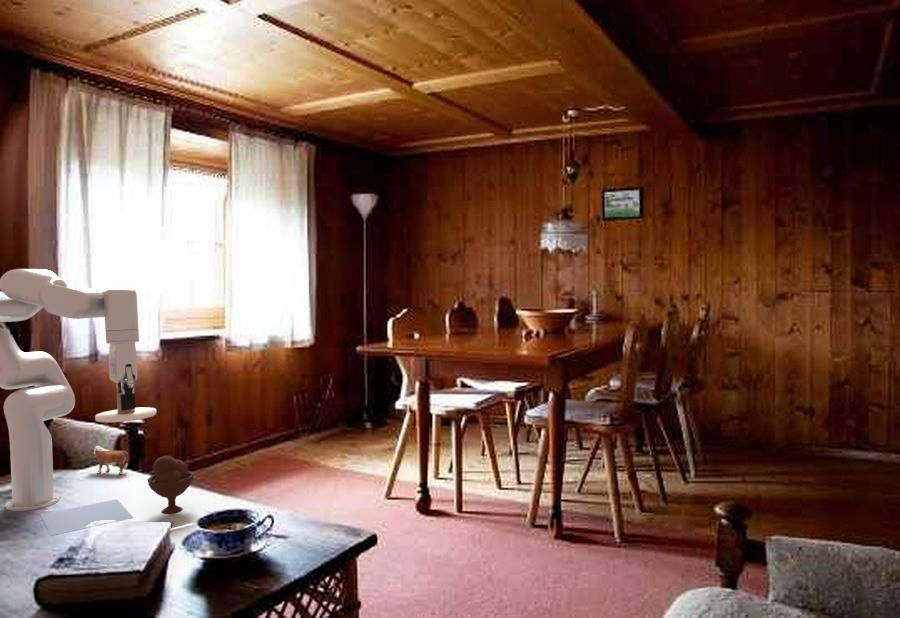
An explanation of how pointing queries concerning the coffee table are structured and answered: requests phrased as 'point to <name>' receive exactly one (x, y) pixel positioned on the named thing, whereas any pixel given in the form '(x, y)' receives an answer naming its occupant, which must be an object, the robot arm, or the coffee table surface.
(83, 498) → the coffee table surface
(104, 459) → the bull figurine
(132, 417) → the lid
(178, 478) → the ice cream bowl
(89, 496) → the coffee table surface
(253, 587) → the coffee table surface
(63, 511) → the mat
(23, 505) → the robot arm
